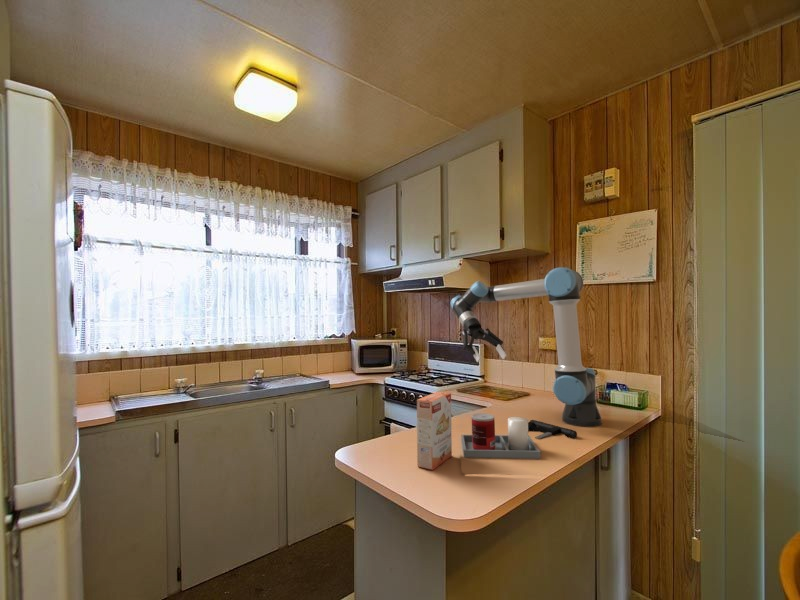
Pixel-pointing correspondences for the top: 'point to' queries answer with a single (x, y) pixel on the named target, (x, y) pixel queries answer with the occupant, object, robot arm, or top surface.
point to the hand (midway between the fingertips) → (492, 358)
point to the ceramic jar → (518, 434)
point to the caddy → (499, 449)
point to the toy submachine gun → (549, 429)
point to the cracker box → (434, 430)
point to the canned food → (483, 431)
